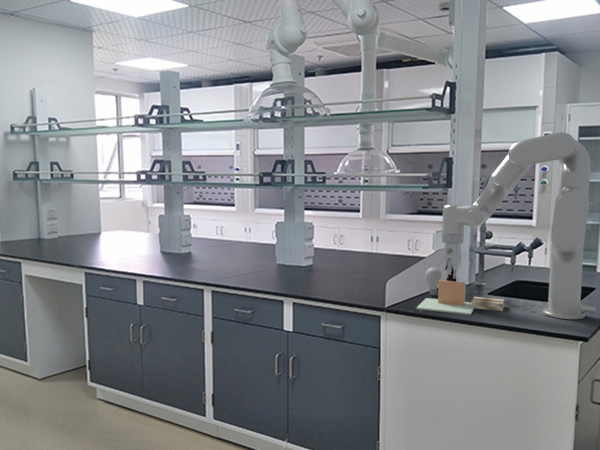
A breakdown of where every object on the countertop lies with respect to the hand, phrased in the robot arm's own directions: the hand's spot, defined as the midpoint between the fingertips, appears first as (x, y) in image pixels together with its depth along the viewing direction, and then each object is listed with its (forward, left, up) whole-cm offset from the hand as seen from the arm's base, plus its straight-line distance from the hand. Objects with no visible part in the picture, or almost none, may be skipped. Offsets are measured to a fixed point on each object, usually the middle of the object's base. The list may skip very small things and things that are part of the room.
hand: (451, 288), depth 195 cm
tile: (+4, +5, 0) cm, 6 cm away
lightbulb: (+8, -8, -5) cm, 13 cm away
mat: (0, +8, -5) cm, 9 cm away
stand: (-13, +2, -5) cm, 14 cm away
